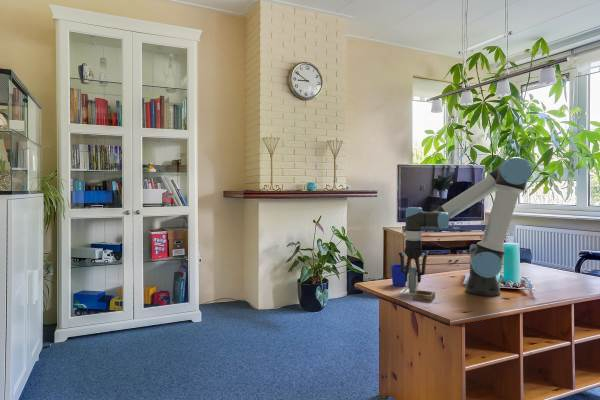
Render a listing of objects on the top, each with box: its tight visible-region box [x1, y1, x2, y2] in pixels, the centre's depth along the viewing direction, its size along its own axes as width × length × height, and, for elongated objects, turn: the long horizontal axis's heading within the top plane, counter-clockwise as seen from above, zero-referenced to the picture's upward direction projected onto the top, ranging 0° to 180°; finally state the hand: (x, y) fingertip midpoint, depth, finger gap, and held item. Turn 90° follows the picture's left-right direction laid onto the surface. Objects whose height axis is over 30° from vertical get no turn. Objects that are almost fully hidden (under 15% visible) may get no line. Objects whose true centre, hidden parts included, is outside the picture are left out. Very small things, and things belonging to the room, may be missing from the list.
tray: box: [412, 289, 436, 303], centre depth 179 cm, size 8×8×3 cm
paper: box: [398, 288, 417, 296], centre depth 189 cm, size 14×9×1 cm, turn 61°
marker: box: [408, 266, 417, 293], centre depth 189 cm, size 3×3×12 cm
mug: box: [390, 264, 407, 287], centre depth 204 cm, size 8×12×10 cm
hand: (412, 288), depth 189 cm, fingers closed on marker, 3 cm apart
